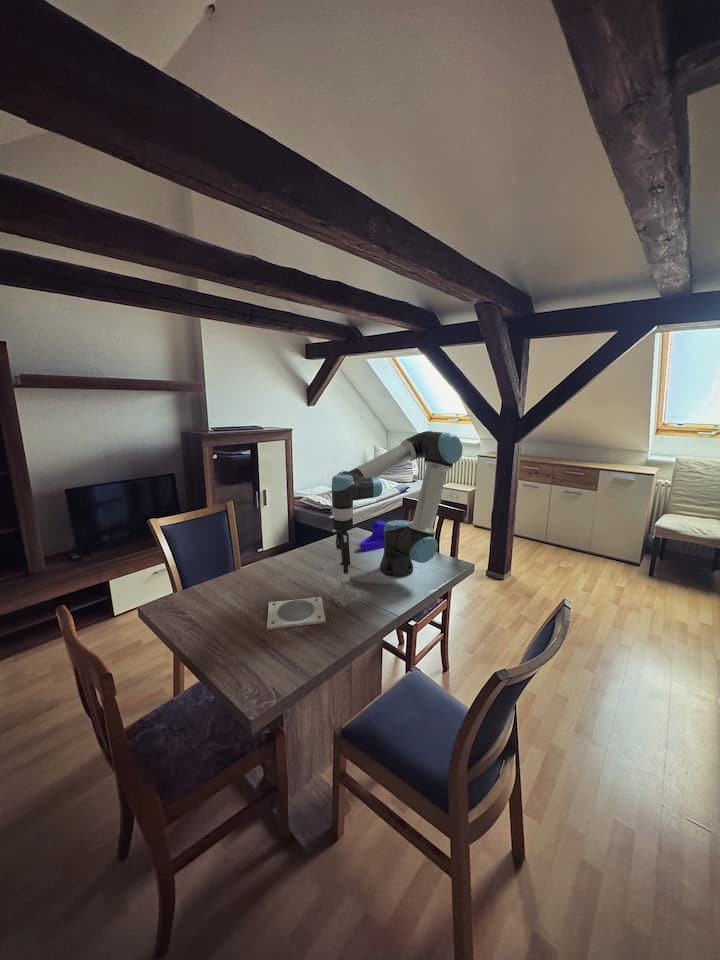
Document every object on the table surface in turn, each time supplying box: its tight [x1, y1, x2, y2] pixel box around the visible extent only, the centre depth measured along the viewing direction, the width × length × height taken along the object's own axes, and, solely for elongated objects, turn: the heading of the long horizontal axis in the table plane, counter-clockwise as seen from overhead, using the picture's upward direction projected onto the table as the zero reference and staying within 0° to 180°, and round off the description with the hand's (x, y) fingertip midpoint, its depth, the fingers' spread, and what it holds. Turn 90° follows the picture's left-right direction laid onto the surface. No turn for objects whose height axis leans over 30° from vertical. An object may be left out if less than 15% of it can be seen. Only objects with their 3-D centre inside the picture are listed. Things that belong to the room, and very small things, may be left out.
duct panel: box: [266, 596, 327, 630], centre depth 139 cm, size 20×16×2 cm
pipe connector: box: [329, 581, 358, 608], centre depth 143 cm, size 10×10×10 cm
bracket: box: [360, 520, 388, 553], centre depth 199 cm, size 18×11×12 cm, turn 134°
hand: (342, 572), depth 141 cm, fingers open, 13 cm apart
